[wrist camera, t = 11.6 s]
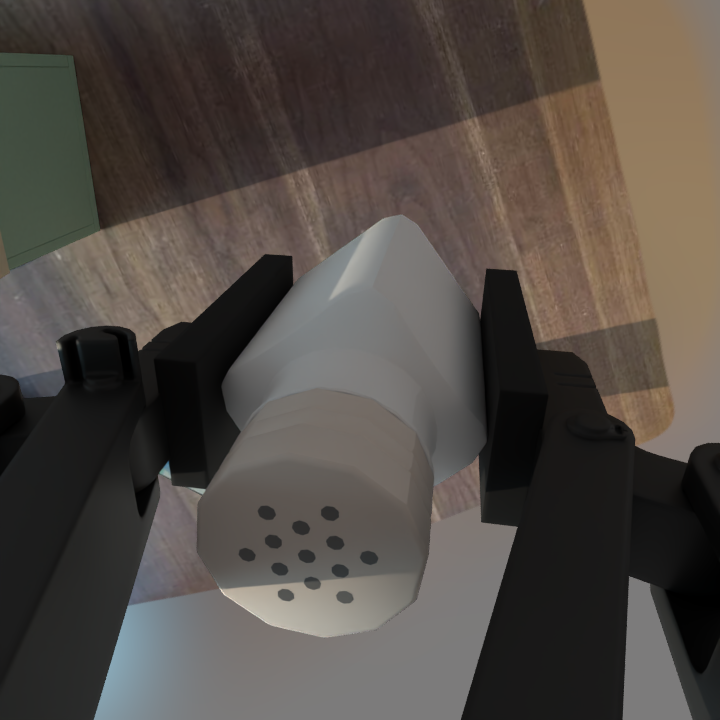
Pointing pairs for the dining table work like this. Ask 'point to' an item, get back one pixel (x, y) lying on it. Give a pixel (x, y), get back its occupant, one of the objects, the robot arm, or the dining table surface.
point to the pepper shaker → (345, 437)
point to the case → (42, 158)
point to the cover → (3, 260)
